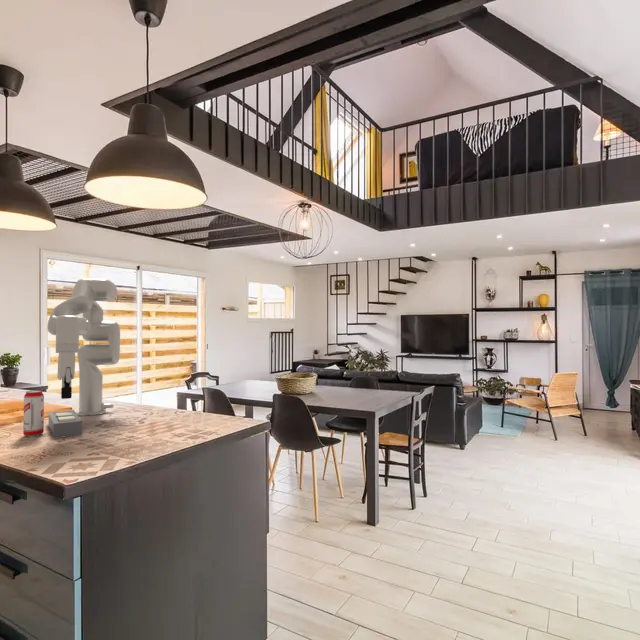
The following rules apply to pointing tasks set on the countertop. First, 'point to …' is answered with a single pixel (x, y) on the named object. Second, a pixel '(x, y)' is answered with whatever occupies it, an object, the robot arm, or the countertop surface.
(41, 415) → the beer can
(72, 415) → the sage key
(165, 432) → the countertop surface
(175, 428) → the countertop surface
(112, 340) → the robot arm
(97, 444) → the countertop surface
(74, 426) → the keypad
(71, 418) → the cream key
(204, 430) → the countertop surface
